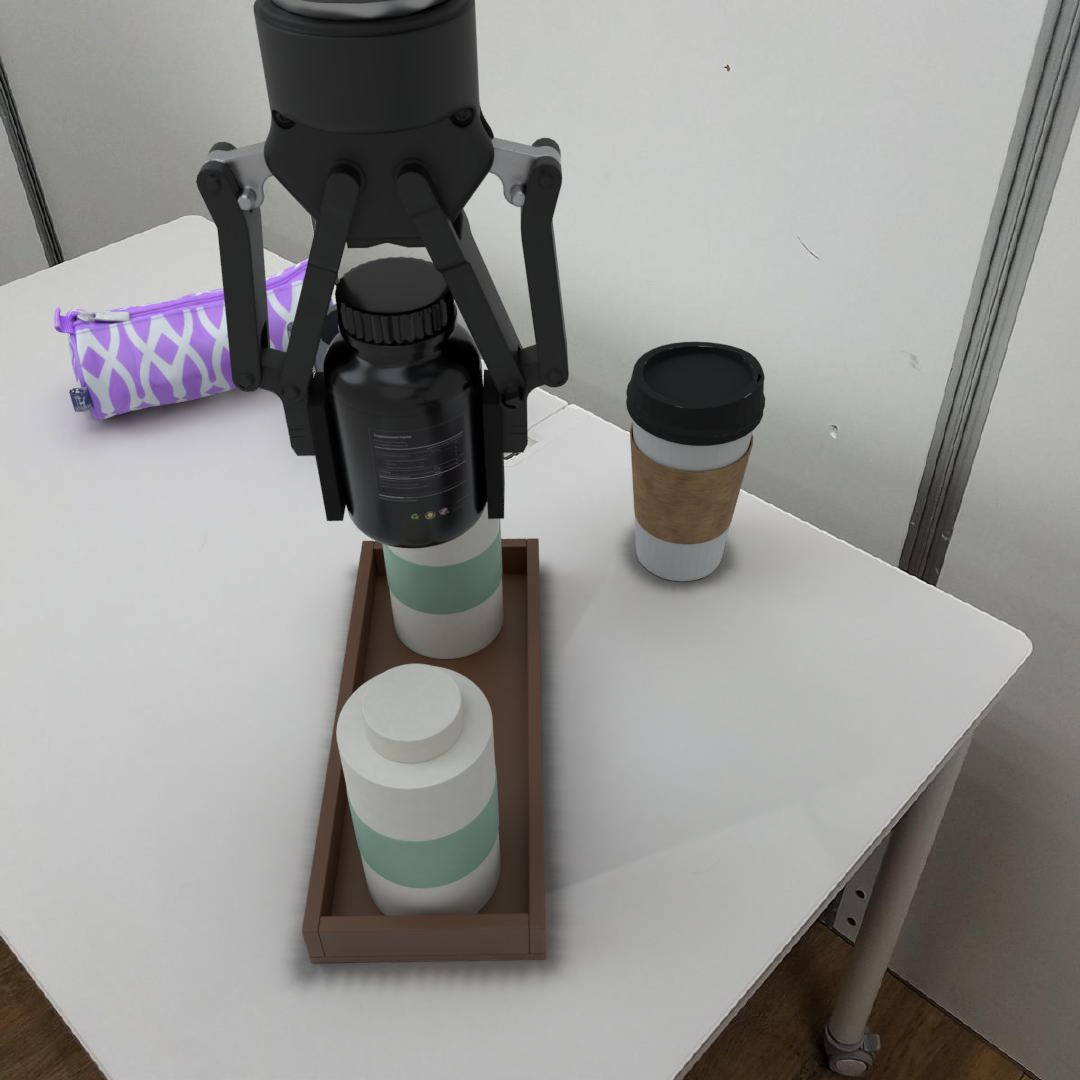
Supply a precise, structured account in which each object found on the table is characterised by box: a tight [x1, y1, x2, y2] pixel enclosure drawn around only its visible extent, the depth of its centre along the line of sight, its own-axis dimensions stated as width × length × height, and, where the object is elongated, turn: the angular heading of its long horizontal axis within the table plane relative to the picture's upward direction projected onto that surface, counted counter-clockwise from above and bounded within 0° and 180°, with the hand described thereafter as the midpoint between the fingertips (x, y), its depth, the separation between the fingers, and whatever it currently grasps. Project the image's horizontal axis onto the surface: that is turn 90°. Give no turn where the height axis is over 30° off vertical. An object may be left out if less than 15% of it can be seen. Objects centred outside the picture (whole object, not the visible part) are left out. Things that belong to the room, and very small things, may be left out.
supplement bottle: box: [323, 256, 487, 549], centre depth 49 cm, size 7×7×12 cm
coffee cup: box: [625, 341, 766, 582], centre depth 72 cm, size 8×8×15 cm
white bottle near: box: [336, 664, 501, 915], centre depth 54 cm, size 7×7×14 cm
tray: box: [301, 537, 547, 964], centre depth 64 cm, size 12×28×3 cm, turn 1°
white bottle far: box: [383, 505, 504, 659], centre depth 67 cm, size 7×7×14 cm
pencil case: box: [53, 258, 334, 421], centre depth 89 cm, size 22×9×10 cm, turn 115°
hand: (417, 500), depth 53 cm, fingers closed on supplement bottle, 7 cm apart
